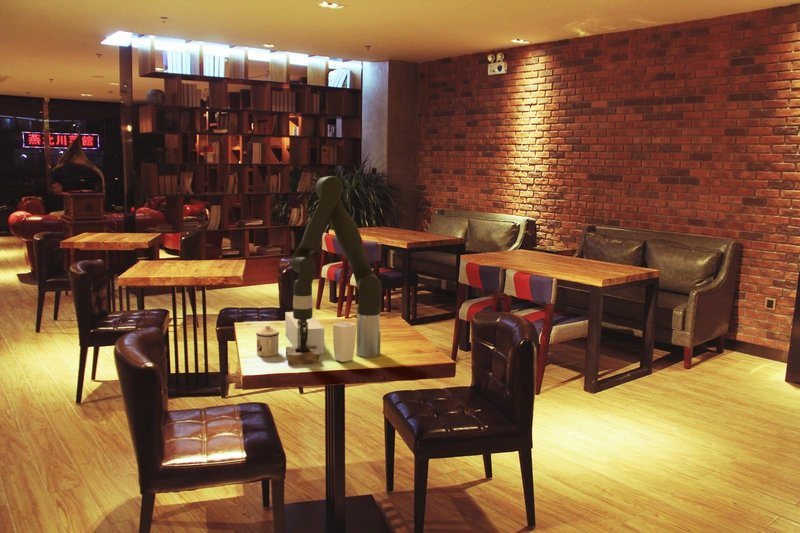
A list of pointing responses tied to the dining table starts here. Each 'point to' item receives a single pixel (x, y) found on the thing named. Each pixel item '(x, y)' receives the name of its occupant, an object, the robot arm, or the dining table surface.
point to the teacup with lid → (267, 341)
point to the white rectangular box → (313, 331)
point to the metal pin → (299, 342)
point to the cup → (344, 341)
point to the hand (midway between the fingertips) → (302, 348)
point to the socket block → (302, 356)
